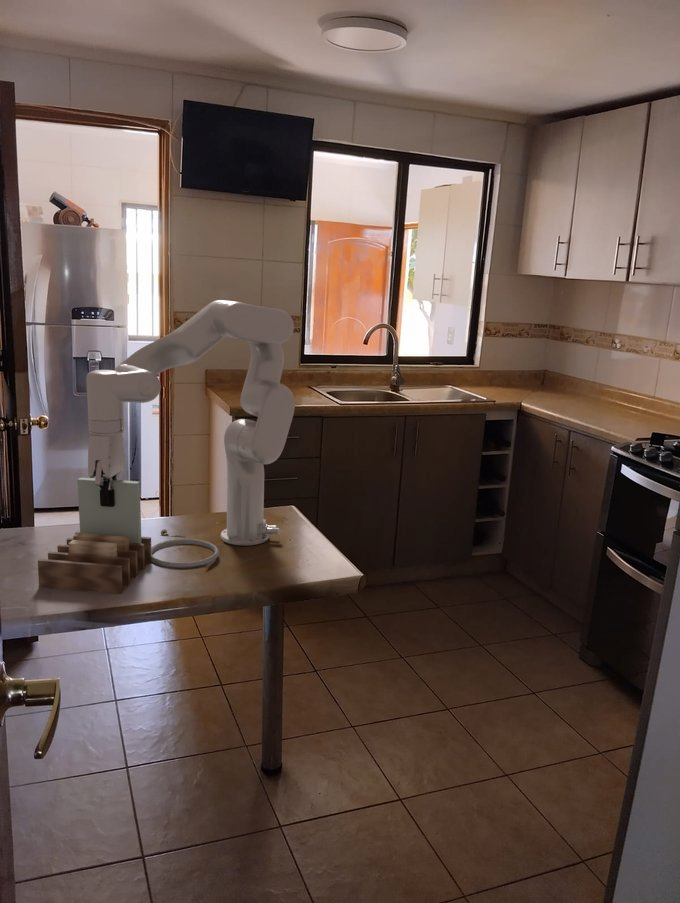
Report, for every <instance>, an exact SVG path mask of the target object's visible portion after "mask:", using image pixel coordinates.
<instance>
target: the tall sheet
mask: <svg viewBox="0 0 680 903" xmlns="http://www.w3.org/2000/svg"><path fill="white" fill-rule="evenodd" d="M95 478H96V477H93V478H90V477H79V478H77V496H78V497H77V498H78V500H77V501H78V515H79V516H78V518H79V532H80V533H85V534H97V535H110V536H122V537H129V543H138V544H142V543H141V537H142V514H141V511H142V510H141V509H142V508H141V482H140V481H137V480H136V481H135V480H124V479H123V480H120V479H119V480H112V487H113V488H112V489H113V490H114V497H115V506H114V507H105V506H101V505H100V490H99V485H95ZM105 481H107V482H108V480H105Z"/></svg>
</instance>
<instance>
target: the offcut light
mask: <svg viewBox="0 0 680 903" xmlns="http://www.w3.org/2000/svg"><path fill="white" fill-rule="evenodd" d="M68 544H69V553H75V554H87V555H99V556H111V557H117V543H106V542H93V541H81V540H72V541H71V542H70V543H68Z"/></svg>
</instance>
